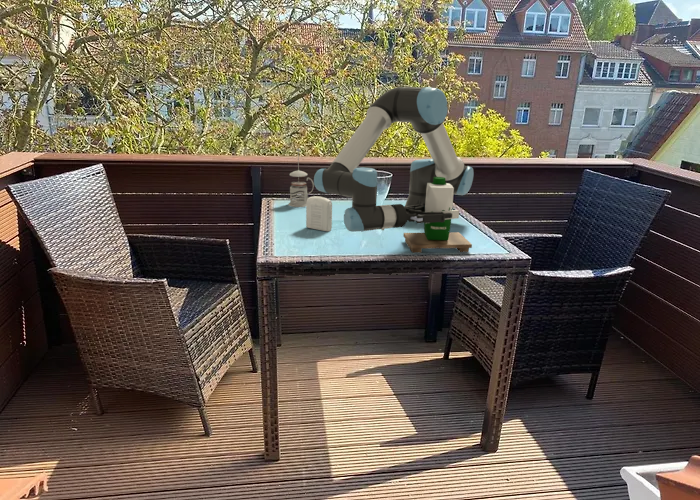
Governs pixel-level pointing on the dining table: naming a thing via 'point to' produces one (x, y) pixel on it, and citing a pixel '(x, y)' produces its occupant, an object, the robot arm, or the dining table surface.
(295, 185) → the french press
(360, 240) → the dining table surface
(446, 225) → the soya milk
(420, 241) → the stand
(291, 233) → the dining table surface
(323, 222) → the photo printer
